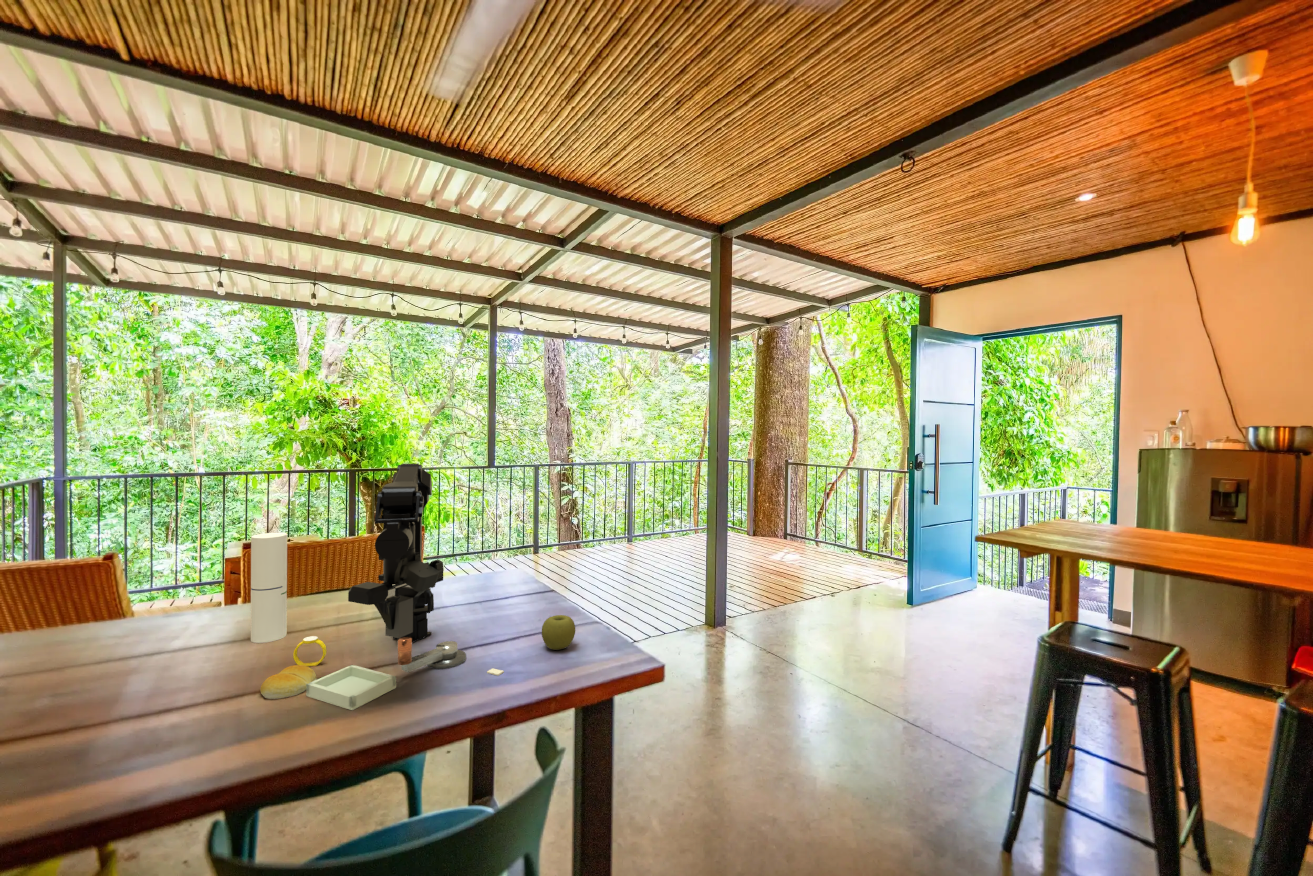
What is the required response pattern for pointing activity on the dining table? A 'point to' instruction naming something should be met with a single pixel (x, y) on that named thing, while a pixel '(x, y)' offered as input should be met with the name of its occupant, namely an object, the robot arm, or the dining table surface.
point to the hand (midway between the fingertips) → (398, 626)
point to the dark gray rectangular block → (402, 618)
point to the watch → (308, 641)
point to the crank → (423, 654)
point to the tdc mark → (495, 671)
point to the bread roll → (288, 682)
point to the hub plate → (449, 661)
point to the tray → (351, 686)
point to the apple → (558, 632)
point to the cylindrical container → (268, 587)
